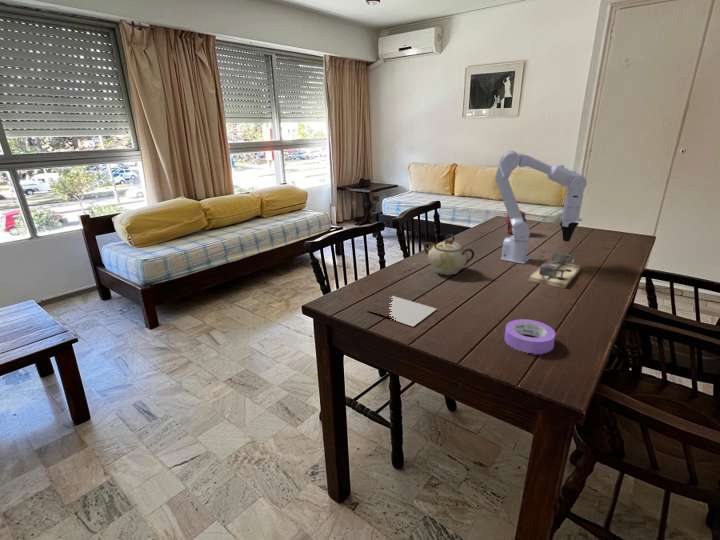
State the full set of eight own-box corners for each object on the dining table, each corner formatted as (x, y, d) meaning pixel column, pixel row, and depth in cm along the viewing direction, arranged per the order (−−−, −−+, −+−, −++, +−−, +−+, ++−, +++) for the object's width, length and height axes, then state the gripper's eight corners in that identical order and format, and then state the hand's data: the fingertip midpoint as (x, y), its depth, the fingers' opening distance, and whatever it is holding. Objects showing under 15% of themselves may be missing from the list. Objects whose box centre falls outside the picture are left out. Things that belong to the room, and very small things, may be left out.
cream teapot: (477, 269, 148) (480, 232, 143) (466, 282, 136) (469, 242, 131) (430, 262, 158) (431, 227, 153) (415, 273, 146) (417, 236, 141)
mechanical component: (522, 231, 199) (526, 236, 190) (502, 231, 201) (505, 236, 192) (525, 208, 194) (529, 212, 185) (504, 208, 196) (507, 212, 187)
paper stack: (407, 288, 133) (407, 286, 133) (475, 306, 118) (475, 304, 118) (366, 312, 116) (366, 310, 116) (439, 337, 101) (439, 335, 101)
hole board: (528, 280, 136) (530, 267, 134) (546, 263, 153) (548, 251, 151) (565, 288, 129) (567, 274, 127) (580, 269, 145) (582, 256, 144)
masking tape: (503, 350, 95) (505, 337, 94) (504, 328, 105) (506, 316, 104) (555, 358, 91) (557, 345, 90) (551, 335, 101) (553, 322, 100)
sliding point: (551, 261, 147) (552, 253, 146) (553, 259, 149) (554, 251, 148) (573, 265, 143) (574, 257, 142) (575, 263, 145) (576, 255, 144)
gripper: (579, 211, 136) (573, 247, 141) (588, 204, 147) (581, 238, 151) (558, 208, 141) (553, 243, 145) (568, 202, 151) (562, 235, 156)
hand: (566, 240), depth 149 cm, fingers closed
